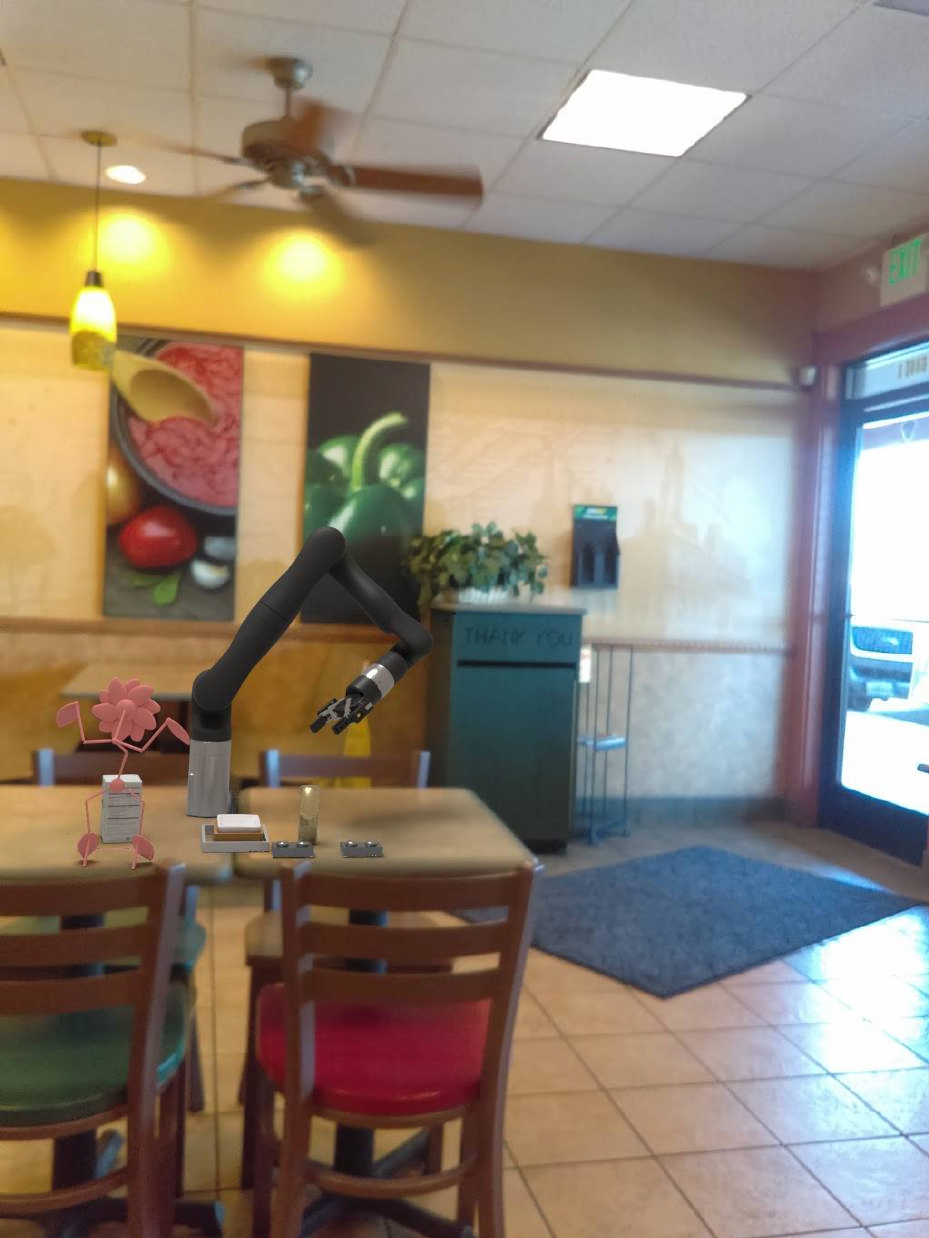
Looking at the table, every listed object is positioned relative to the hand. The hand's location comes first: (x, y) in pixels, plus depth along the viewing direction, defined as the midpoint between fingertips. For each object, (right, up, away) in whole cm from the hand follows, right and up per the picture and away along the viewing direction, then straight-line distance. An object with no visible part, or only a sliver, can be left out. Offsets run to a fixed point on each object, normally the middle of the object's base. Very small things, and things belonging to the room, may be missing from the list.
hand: (322, 730), depth 235 cm
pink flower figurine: (-35, -22, -31) cm, 51 cm away
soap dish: (-16, -22, -13) cm, 31 cm away
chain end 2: (+10, -24, -17) cm, 31 cm away
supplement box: (-40, -21, -16) cm, 48 cm away
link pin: (-2, -23, -11) cm, 25 cm away
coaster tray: (-17, -22, -14) cm, 31 cm away
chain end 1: (-3, -23, -20) cm, 31 cm away
